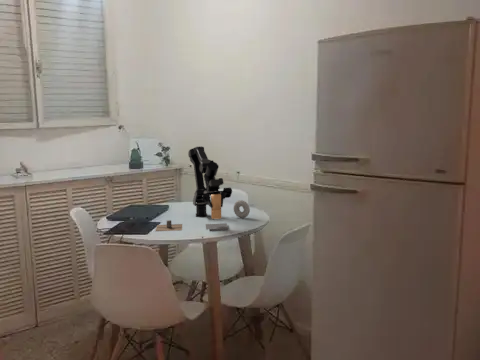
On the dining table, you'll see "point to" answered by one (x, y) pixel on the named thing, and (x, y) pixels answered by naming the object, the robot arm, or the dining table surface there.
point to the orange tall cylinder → (216, 206)
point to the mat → (217, 227)
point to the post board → (164, 227)
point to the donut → (245, 207)
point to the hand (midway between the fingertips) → (216, 207)
